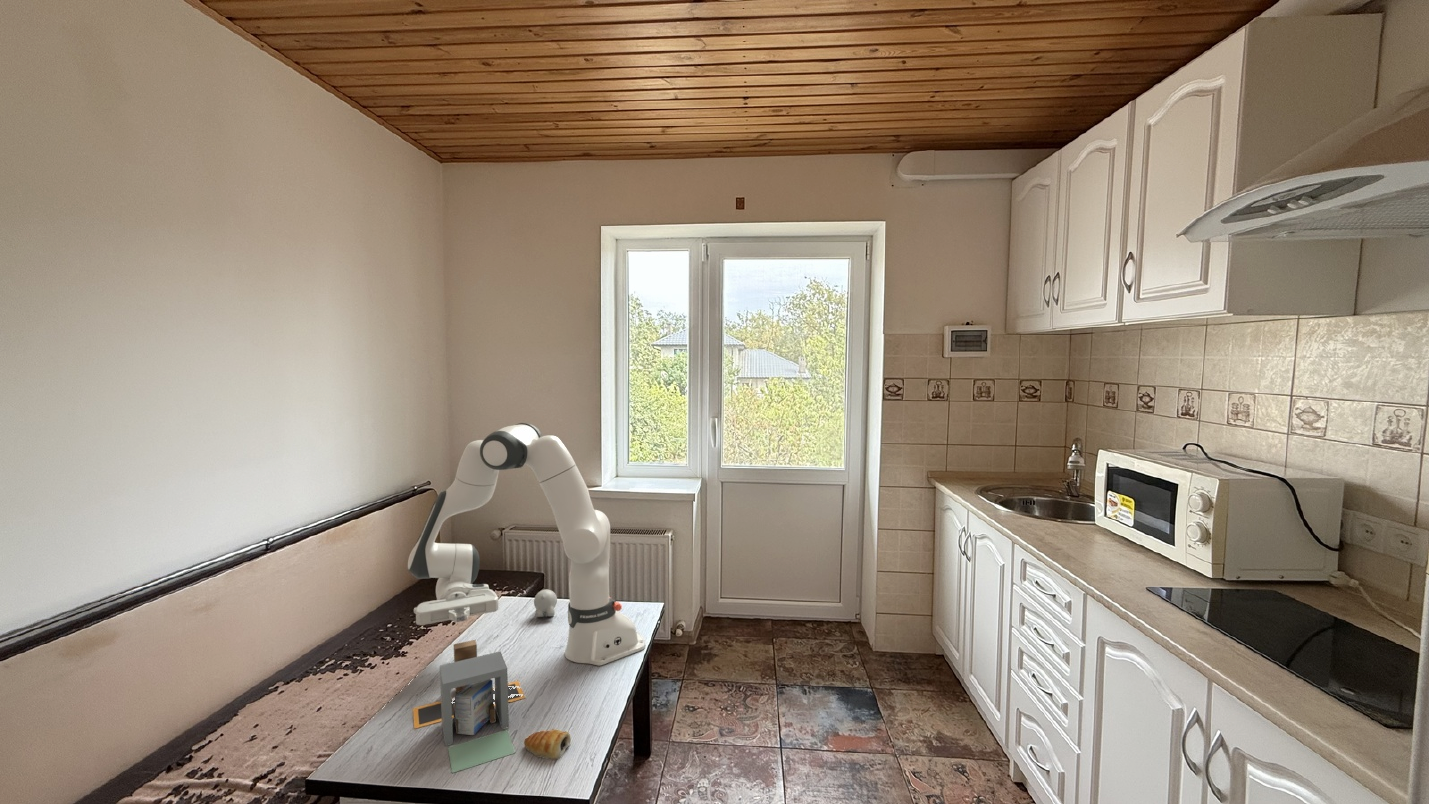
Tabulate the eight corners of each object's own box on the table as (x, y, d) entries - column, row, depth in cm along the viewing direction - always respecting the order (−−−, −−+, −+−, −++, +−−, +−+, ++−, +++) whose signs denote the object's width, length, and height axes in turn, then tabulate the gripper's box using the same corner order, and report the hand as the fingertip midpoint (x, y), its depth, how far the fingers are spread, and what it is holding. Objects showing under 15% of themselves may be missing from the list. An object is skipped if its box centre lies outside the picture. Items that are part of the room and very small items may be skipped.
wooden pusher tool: (482, 680, 148) (481, 638, 147) (495, 721, 130) (493, 674, 129) (448, 688, 144) (446, 645, 143) (456, 733, 126) (455, 684, 125)
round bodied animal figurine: (558, 616, 194) (559, 589, 197) (555, 616, 183) (556, 588, 186) (536, 617, 193) (537, 590, 196) (531, 618, 182) (533, 589, 185)
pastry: (517, 756, 119) (516, 738, 119) (535, 736, 126) (534, 719, 126) (558, 763, 117) (557, 744, 117) (574, 742, 124) (573, 725, 123)
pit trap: (518, 681, 148) (518, 680, 148) (525, 698, 140) (525, 697, 140) (413, 708, 136) (413, 708, 136) (414, 729, 128) (414, 728, 128)
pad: (507, 730, 128) (507, 729, 128) (515, 753, 120) (515, 752, 120) (448, 747, 122) (448, 747, 122) (452, 773, 114) (452, 772, 114)
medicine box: (473, 736, 125) (472, 697, 125) (455, 734, 126) (453, 695, 126) (494, 715, 133) (493, 678, 132) (477, 713, 134) (475, 676, 133)
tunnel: (502, 706, 137) (500, 651, 136) (509, 726, 129) (507, 668, 128) (441, 723, 130) (439, 665, 130) (445, 745, 122) (442, 684, 122)
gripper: (413, 595, 155) (415, 614, 143) (493, 583, 165) (501, 599, 153) (413, 618, 155) (415, 639, 143) (493, 604, 166) (502, 622, 153)
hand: (460, 618), depth 148 cm, fingers closed
